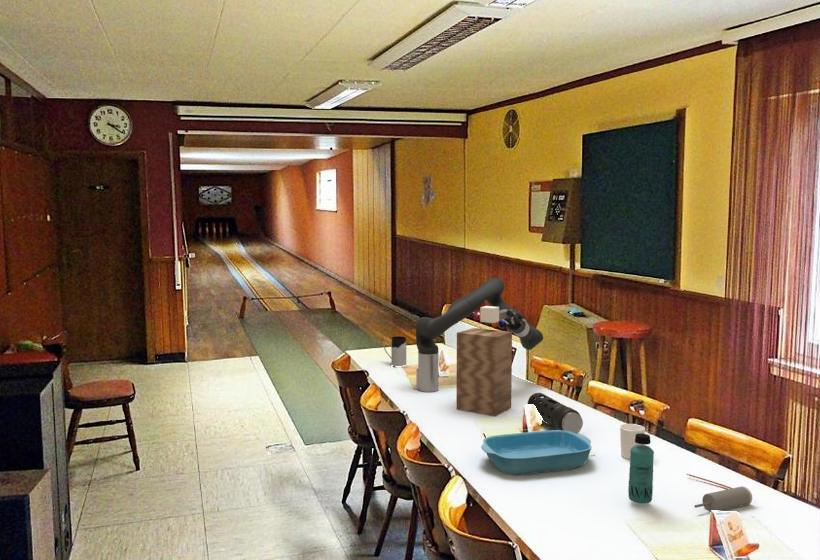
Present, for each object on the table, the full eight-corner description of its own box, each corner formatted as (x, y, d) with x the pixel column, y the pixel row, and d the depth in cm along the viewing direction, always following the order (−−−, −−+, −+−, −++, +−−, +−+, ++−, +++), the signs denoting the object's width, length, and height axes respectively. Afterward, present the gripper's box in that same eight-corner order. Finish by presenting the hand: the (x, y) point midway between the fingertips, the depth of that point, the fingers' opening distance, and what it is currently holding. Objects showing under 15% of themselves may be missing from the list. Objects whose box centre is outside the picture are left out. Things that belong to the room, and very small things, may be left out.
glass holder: (401, 368, 367) (401, 339, 365) (378, 365, 374) (378, 337, 373) (410, 365, 374) (410, 337, 372) (388, 362, 382) (388, 334, 380)
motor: (763, 504, 197) (761, 485, 197) (703, 518, 188) (701, 499, 188) (699, 487, 218) (697, 471, 219) (642, 499, 210) (641, 482, 210)
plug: (480, 321, 291) (480, 307, 291) (501, 315, 307) (502, 302, 306) (493, 323, 288) (493, 308, 287) (514, 316, 303) (514, 303, 303)
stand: (456, 409, 291) (456, 332, 288) (473, 401, 303) (473, 327, 299) (495, 416, 281) (496, 337, 278) (511, 408, 292) (512, 331, 289)
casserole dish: (496, 481, 214) (496, 458, 214) (471, 456, 236) (471, 436, 235) (604, 470, 224) (605, 448, 223) (571, 447, 245) (571, 427, 245)
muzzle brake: (548, 416, 281) (548, 390, 280) (584, 438, 255) (585, 410, 254) (526, 418, 279) (526, 392, 278) (560, 440, 252) (561, 412, 251)
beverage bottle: (624, 500, 200) (626, 431, 198) (646, 499, 200) (649, 430, 198) (633, 509, 193) (635, 438, 191) (656, 508, 194) (659, 438, 192)
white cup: (644, 454, 238) (645, 425, 237) (644, 461, 230) (644, 432, 229) (619, 451, 240) (620, 422, 239) (618, 459, 233) (619, 429, 232)
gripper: (505, 316, 319) (490, 301, 306) (534, 319, 311) (520, 304, 298) (501, 332, 317) (485, 317, 304) (530, 335, 309) (515, 320, 296)
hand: (502, 311), depth 301 cm, fingers closed on plug, 4 cm apart
